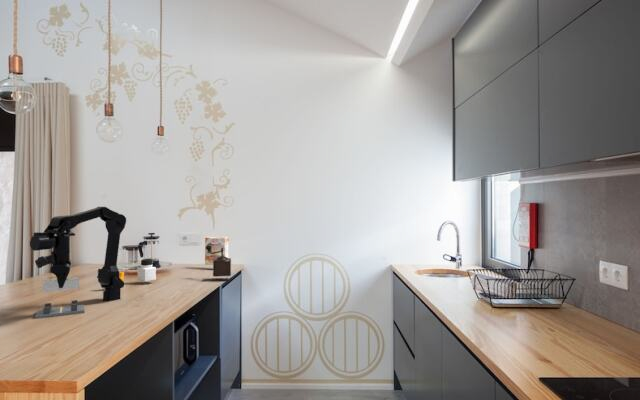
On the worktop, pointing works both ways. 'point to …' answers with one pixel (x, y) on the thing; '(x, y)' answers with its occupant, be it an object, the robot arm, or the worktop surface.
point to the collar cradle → (59, 310)
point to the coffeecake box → (216, 248)
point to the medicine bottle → (146, 271)
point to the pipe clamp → (121, 276)
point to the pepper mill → (220, 264)
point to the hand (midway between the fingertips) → (61, 286)
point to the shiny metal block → (53, 285)
